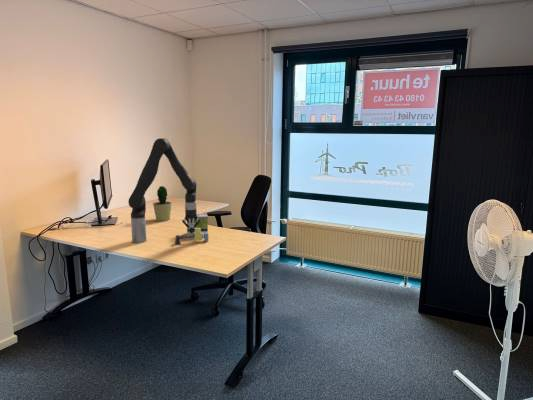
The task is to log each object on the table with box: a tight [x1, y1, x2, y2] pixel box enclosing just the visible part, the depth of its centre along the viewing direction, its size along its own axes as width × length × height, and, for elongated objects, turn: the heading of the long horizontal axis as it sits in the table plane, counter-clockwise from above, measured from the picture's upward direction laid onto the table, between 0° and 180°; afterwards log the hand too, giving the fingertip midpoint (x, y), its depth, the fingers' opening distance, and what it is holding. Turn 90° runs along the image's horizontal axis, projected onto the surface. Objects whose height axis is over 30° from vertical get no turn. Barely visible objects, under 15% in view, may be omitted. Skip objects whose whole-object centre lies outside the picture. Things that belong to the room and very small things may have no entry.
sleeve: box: [193, 228, 203, 241], centre depth 258 cm, size 5×5×8 cm
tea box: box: [186, 213, 209, 236], centre depth 276 cm, size 15×10×15 cm
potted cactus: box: [152, 185, 173, 222], centre depth 319 cm, size 15×15×30 cm
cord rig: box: [174, 231, 209, 246], centre depth 258 cm, size 22×6×6 cm, turn 108°
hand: (191, 232), depth 257 cm, fingers closed
